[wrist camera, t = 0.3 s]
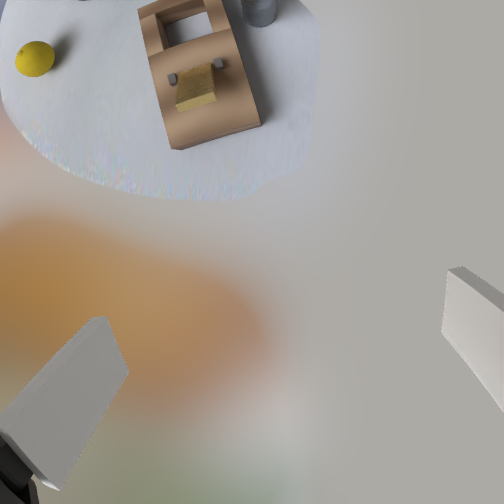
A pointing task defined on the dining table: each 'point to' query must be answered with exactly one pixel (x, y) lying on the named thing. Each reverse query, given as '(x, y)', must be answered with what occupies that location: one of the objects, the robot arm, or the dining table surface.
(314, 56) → the dining table surface
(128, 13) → the dining table surface
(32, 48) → the lemon
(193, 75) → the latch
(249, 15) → the peg
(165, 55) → the block
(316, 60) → the dining table surface
